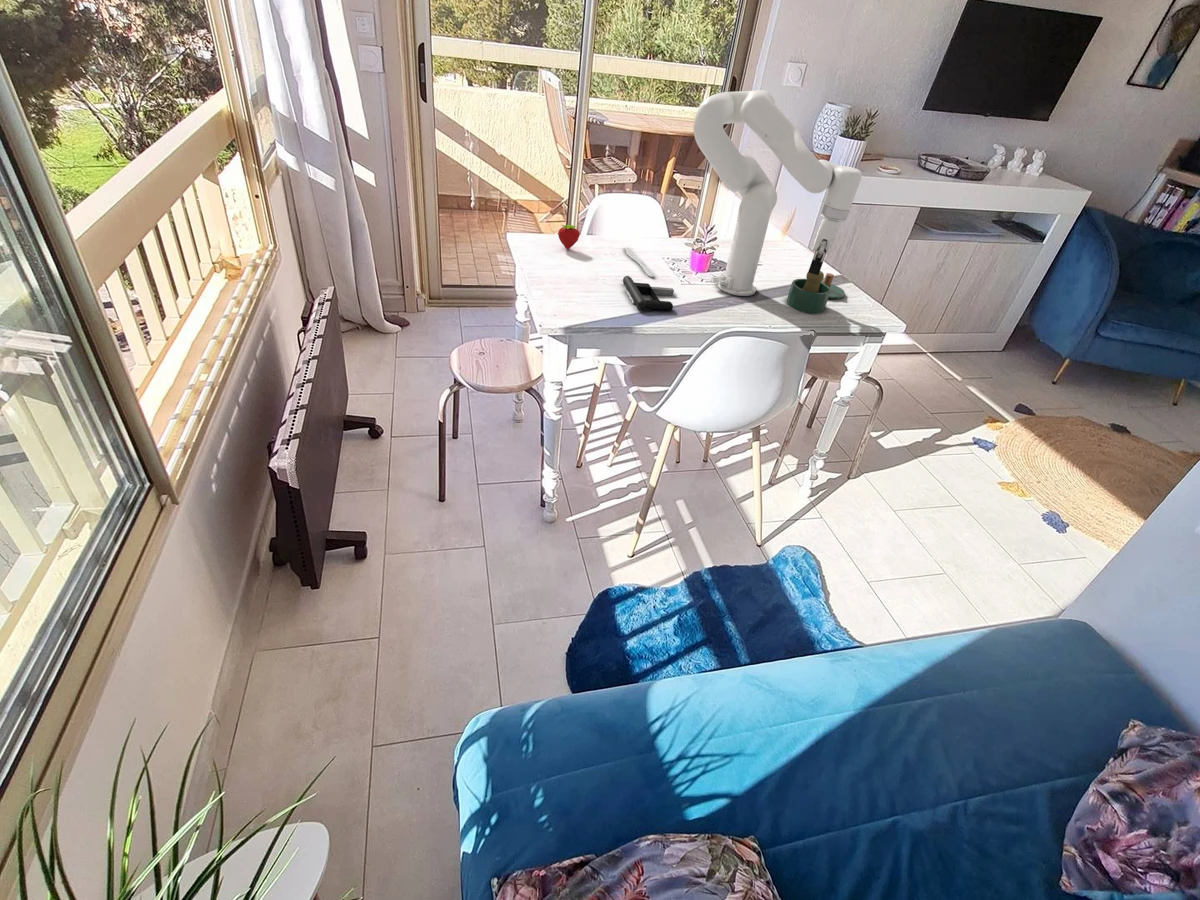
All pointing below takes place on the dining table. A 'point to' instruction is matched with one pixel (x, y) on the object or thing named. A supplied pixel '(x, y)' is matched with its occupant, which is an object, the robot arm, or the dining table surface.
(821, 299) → the pot
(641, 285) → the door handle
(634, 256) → the butter knife
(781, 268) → the dining table surface
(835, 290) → the pot lid
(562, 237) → the strawberry
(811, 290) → the olive tapered upright piece
